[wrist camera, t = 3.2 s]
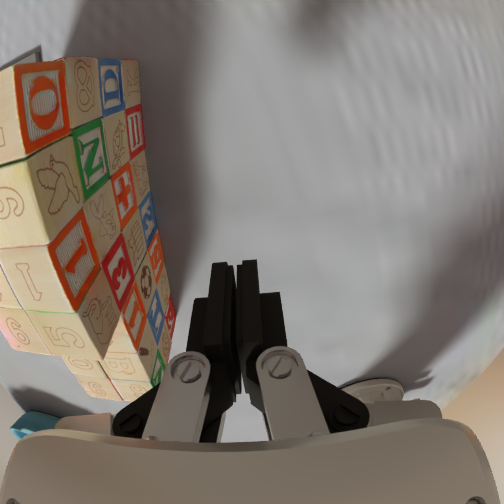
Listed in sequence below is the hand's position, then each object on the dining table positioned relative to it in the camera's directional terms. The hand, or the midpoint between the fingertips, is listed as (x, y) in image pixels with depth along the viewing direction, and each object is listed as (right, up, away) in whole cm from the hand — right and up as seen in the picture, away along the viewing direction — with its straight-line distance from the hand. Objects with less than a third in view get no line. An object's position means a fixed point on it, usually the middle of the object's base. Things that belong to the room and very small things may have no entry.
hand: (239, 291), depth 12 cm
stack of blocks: (-9, +5, +9) cm, 14 cm away
